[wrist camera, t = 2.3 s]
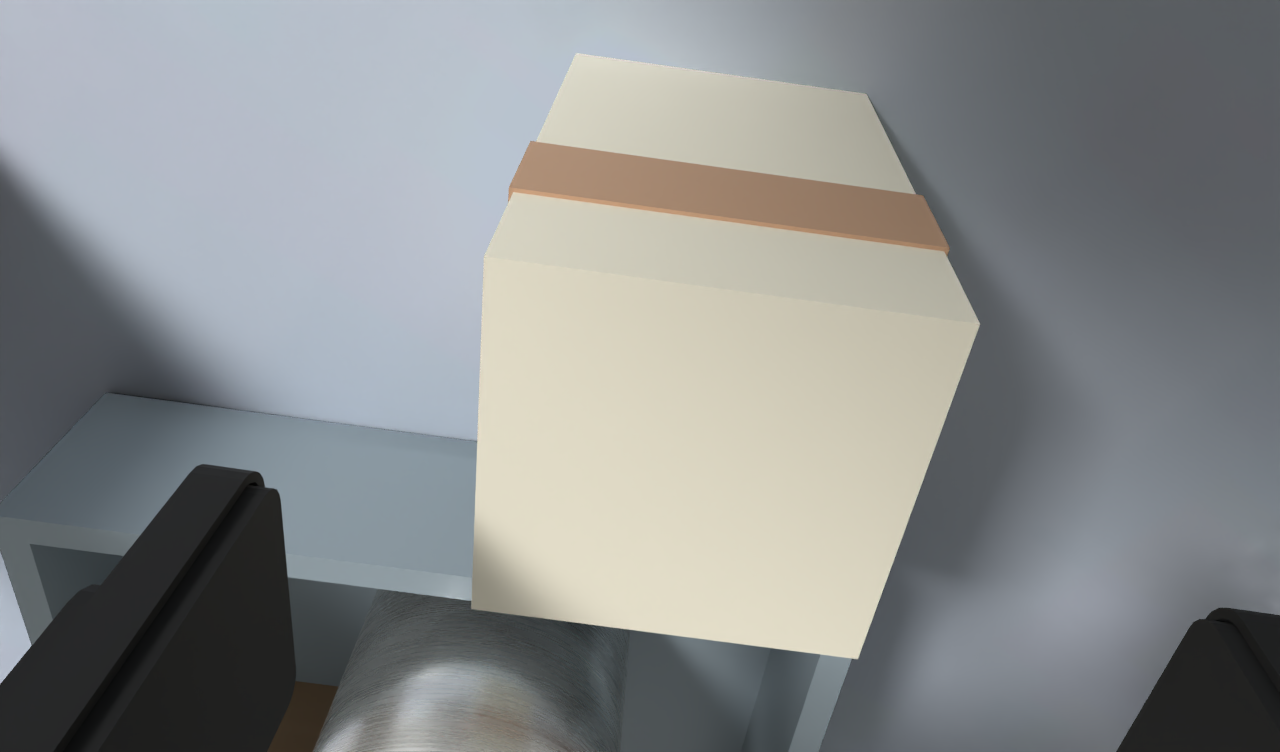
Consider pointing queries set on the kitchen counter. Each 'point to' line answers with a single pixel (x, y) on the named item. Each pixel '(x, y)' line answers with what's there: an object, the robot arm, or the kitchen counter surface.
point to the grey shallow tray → (368, 556)
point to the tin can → (476, 682)
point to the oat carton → (709, 361)
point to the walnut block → (303, 718)
